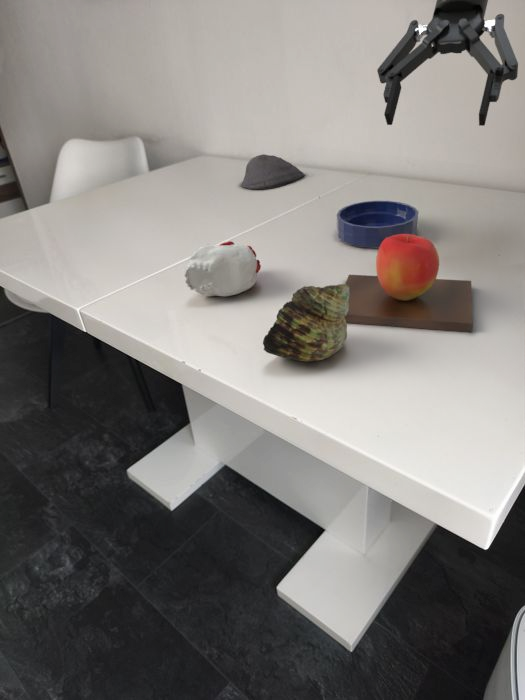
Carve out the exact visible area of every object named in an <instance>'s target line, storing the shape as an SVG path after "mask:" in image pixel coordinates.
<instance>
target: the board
mask: <svg viewBox="0 0 525 700" xmlns="http://www.w3.org/2000/svg"><path fill="white" fill-rule="evenodd" d="M345 284H346V285H347V286H349V293H350V294H349V310H348V312H347V315H346V316H345V317H344V318H345V320H346V324H359V325H373V326H385V327H399V328H400V327H401V328H411V329H423V330H425V329H427V330H436V331H437V330H438V331H451V332H462V333H463V332H464V333H472V330H473V324H474V323H473V297H472V280H467V279H465V280H463V279H443V278H436V279H435V281H434V283H433V285H432V286H431V287H430V288H429V289H428V290H427V291H426V292H425V293H423V294H422V295H420V296H418V297H416V298H414V299H411V300H407V301H403V300H397V299H395V298H393V297H391V296H390V295H388V294H387V293H386V292H385V291H384V289H383V288H382V286H381V284H380V282H379V279H378V276H377V275H367V274H366V275H364V274H348V275H347V278H346V281H345Z"/></svg>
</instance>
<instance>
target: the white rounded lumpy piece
mask: <svg viewBox="0 0 525 700" xmlns="http://www.w3.org/2000/svg"><path fill="white" fill-rule="evenodd" d="M260 263H261V262H260V260H259V259H257V253H256V251H255V249H253V247H252V246H251V245H243V244H235V243H234V242H233V241H231V240H229V241H226V242H222V243H220V244H219V245H216V244H215V245H214V244H209V243H207V244H206V245H203V246H201V247H199V248H197V249H196V250H195V251H194V252H193V254H191V256H190V262H189V263H188V264H186V265H185V267H184V277H185V284H186V286H187V288H189V289H190V291H194V292H196V293H198V294H200V295H202V296H205V297H216V296H218V297H231V296H235V295H238V294H241V293H243V292H246V291H248V290H251V289H253V287H254V285H255V284H256V282H257V280H258V274H259V271H260V270H261V267H262V265H261V264H260Z"/></svg>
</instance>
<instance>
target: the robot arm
mask: <svg viewBox="0 0 525 700" xmlns="http://www.w3.org/2000/svg"><path fill="white" fill-rule="evenodd" d="M488 3H489V0H436V3H435V6H434V10H433V14H432V18H431V20H430V21H429V22H428V24H419V21H418V20H417V19H413V20H411V21H410V23H409V25H408V27H407V29H406V32H405V34H404V35H403V37H401V39H400V40H399V41H398V43H396V45H395V46H394V47H393V49H392V50H391V52H389V54H388V55H387V56H386V58H385V59H384V60H383V62H381V64H380V65H379V67H378V68H377V69H376V70H377V71H376V72H377V76H378V80H379V82H380V84H385V86H384V90H383V94H382V95H383V99H384V102H385V104H386V106H385V109H384V114H383V115H384V118H385V122H386V125H387V126H392V125H393V122H394V119H395V115H396V111H397V107H398V103H399V99H400V95H401V92H402V91H401V90H402V82H403V81H404V80H405V79H406V78H407V77H408V76H409V75H411V74H412V73H413V72H414V71H415V70H416V69H418V68H419V67H420V66H421V65H422V64H424V63H425V62H426V61H427V60H429V59H433V58H434V57H435V56H436V55H437V54H438V53H440V55H447V54H462V52H465V51H466V52H467V53H468V54H469V56H470V57H471V58H474V60H475V61H476V62H477V63H478V64H479V66H480V67H481V69H482V70H483V71H484V72H485V73H486V75H487V77H486V81H485V84H484V85H485V86H484V90H483V95H482V99H481V102H480V108H479V112H478V126H482V127H484V126H485V125H486V121H487V117H488V112H489V108H490V103H498V100H499V98H500V95H501V90H502V86H503V83H504V82H505V81H507V80H509V81H515V80H516V79H517V78H518V73H519V62H518V60H517V57H516V54H515V52H514V49H513V47H512V45H511V42H510V39H509V37H508V35H507V32H506V30H505V29H506V28H505V14H503V13H499V14H497V15H495V18H494V19H489V20H485V15H486V11H487V7H488ZM485 32H487V33H488V36H489V37H490V38H491V39H494V45H495V48H496V50H497V53H498V55H499V58H500V60H501V63H502V64H501V63H500V61H499V60H498V59H497V58H496V57H495V55H494V54H493V53H492V52H491V51H490V50H489V48H488V47H487V46H486V44H484V42H483V41H482V40H481V36H482V35H483V34H484V33H485ZM424 36H425V37H424ZM423 37H424V38H423ZM422 38H423V39H422ZM421 39H422V41H421ZM420 42H421V43H420ZM417 43H420V44H418V46H416V45H417Z"/></svg>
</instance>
